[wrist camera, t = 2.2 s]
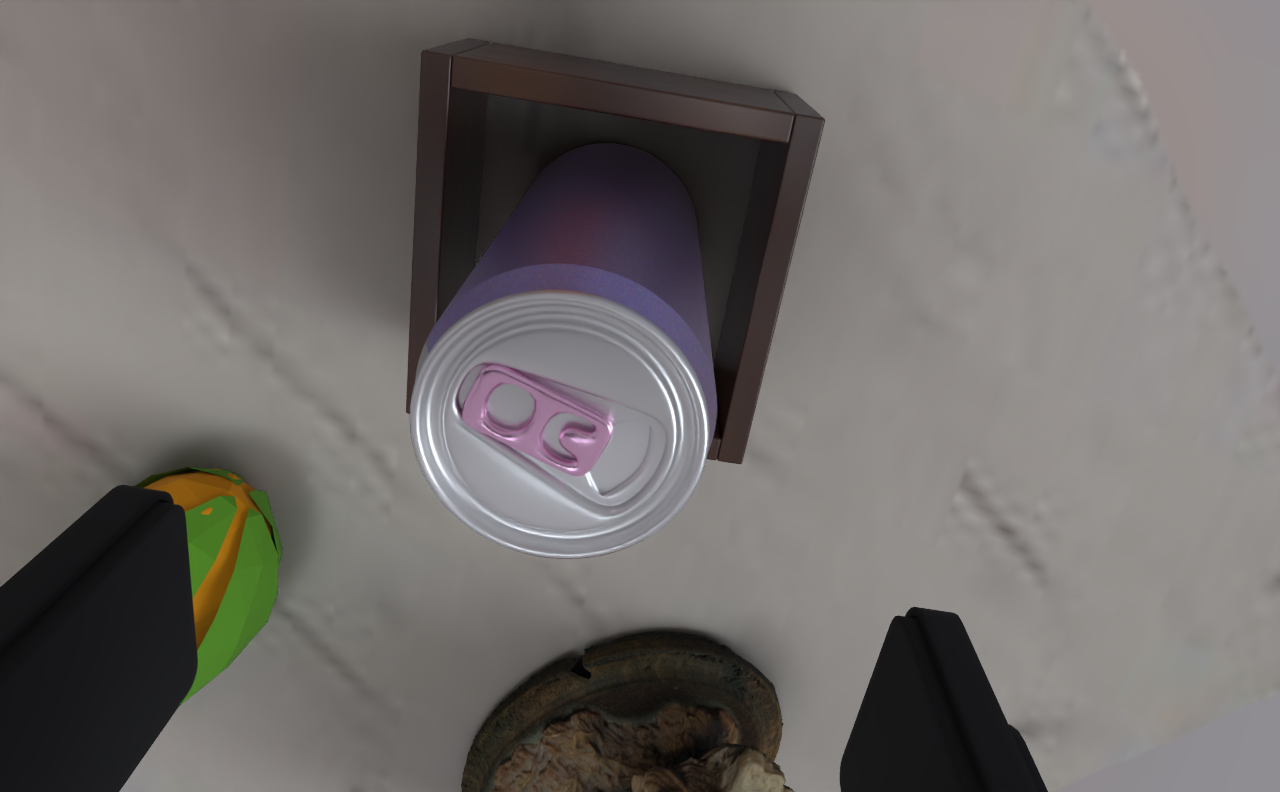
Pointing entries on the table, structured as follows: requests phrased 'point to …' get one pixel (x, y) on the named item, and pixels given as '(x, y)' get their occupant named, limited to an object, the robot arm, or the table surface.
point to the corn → (225, 561)
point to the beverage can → (574, 364)
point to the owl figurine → (635, 724)
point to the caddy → (480, 68)
